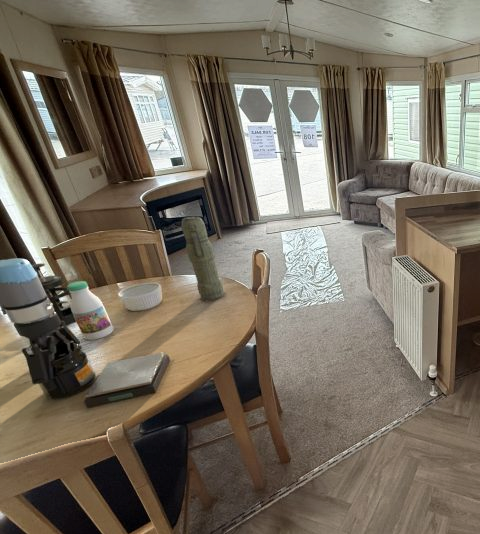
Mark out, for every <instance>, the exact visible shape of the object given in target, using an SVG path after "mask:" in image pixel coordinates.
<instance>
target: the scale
mask: <svg viewBox="0 0 480 534" xmlns="http://www.w3.org/2000/svg"><path fill="white" fill-rule="evenodd" d="M170 362H171V359H170V356H169V354H166V353H165V355H164V357H163V359H162V361H161V364H160V366H159V368H158V370H157V372H156V374H155V376H154V378H153V380H152V382H151V384H148V385H143V386H138V387H134V388H129V389H124V390H120V391H115V392H110V393H106V394H101V395H96V396H92V397H87V398H86V397H85V398H84V400H83V403H84V404H85V407H86V408H87V409H88V408H94V407H98V406H103V405H107V404H112V403H115V402H116V403H117V402H119V401H120V402H121V401H125V400H129V399H130V400H131V399H134V398H139V397H143V396H148V395H151V394H156V393H157V391H158V389H159V387H160V385H161V383H162V380H163V377H164V376H165V373H166V371H167V369H168V366H169V365H170Z"/></svg>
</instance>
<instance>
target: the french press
mask: <svg viewBox="0 0 480 534" xmlns="http://www.w3.org/2000/svg"><path fill="white" fill-rule="evenodd" d="M31 265H32V267H33V269H35V271H36V272H38V273H39V275H40V277H39V280H40V282H41V284H42V286H43V289H44V291H45V293H46V294H49V296H48V299H49V300H50V302H51V303H52V304H53V308H54V311H53V312H56V313H57V315H58V317H59V319H60V321H64V322H65V324H66V326H69V325H72V324H74V323H77V322H76V320H75V318H74V316H73V313H72V311H71V300H72V294H71V293H70V292H69V290H68V288H67V287H66V286H65V287H64V286H61V285H63V283H64V282H63V276H61V275H47V276H43V274H42V272H41V268H42V267H44V266H46V263H34V264H31ZM63 291H64V292H63ZM57 292H62V293H59V294H57ZM67 295H68V296H69V298H70V300H61V298H64V297H66V296H67Z"/></svg>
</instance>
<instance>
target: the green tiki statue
mask: <svg viewBox="0 0 480 534" xmlns="http://www.w3.org/2000/svg"><path fill="white" fill-rule="evenodd" d="M181 229H182V233H183V236H184V239H185V240H186V241H185V244H186V246H185V249H186V253H187V257H188V261H189V262H190V263H191V264H192V268H193V272H194V275H195V279H196V282H197V284H196V288H197V291H198V294H199V295H200V300H202V301H207V302H208V301H215V300H218V299H220V298H223V296H225V292H224V291H225V290H224V286H223V282H222V280H221V279H220V276H219V272H218V269H217V265H216V260H215V256H216V255H215V252H214V247H213V244H212V243H211V241H210V239H209V237H208V231H207V228H206V224H205V222H204V220H203V219H202V218H201V216H198V215H191V216H186V217H183V218H182V219H181Z"/></svg>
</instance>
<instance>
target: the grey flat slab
mask: <svg viewBox="0 0 480 534" xmlns="http://www.w3.org/2000/svg"><path fill="white" fill-rule="evenodd" d="M164 355H166V353H165V351H163V352H158V353H153V354H148V355H141V356H137V357H132V358H126V359H121V360H115V361H110V362H107V363H106V364H105V366H104V367H103V369H102V370H101V372H100V373H99V374H98V376H97V377H96V378H95V380H94V381H93V383H92V384H91V386H90V387H89V389H88V390H87V392H86V393H85V398H87V397H92V396H96V395H101V394H106V393H110V392H115V391H120V390H124V389H129V388H134V387H138V386H143V385H148V384H151V382H152V380H153V378H154V376H155V374H156V372H157V370H158V368H159V366H160V364H161V361H162V359H163V357H164Z"/></svg>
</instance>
